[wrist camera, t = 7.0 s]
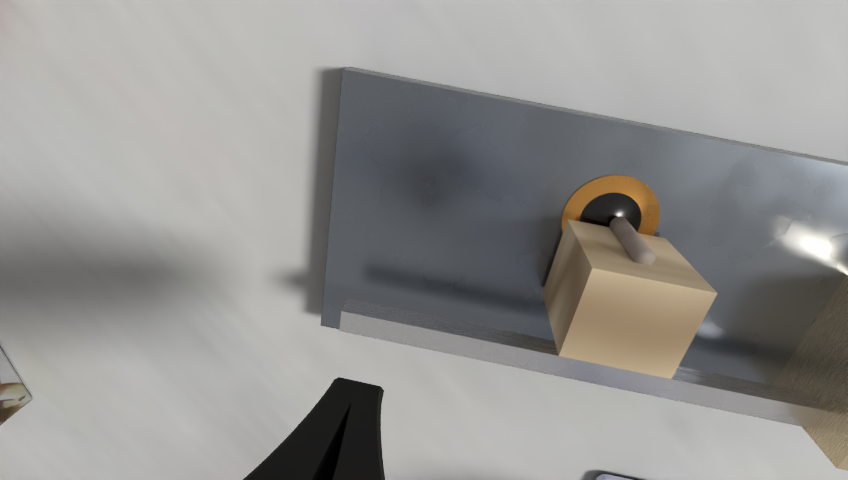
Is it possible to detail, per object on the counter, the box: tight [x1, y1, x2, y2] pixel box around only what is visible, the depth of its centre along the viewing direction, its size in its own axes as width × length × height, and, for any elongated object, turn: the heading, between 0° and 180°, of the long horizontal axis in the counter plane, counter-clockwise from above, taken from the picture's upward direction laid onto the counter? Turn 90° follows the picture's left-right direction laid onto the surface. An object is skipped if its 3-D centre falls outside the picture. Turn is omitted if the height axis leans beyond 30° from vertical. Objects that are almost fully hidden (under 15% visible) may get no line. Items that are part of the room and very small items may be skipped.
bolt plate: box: [321, 67, 848, 385], centre depth 19 cm, size 12×27×1 cm, turn 80°
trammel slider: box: [542, 217, 717, 379], centre depth 17 cm, size 4×4×4 cm
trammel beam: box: [339, 274, 848, 470], centre depth 17 cm, size 7×24×4 cm, turn 80°
